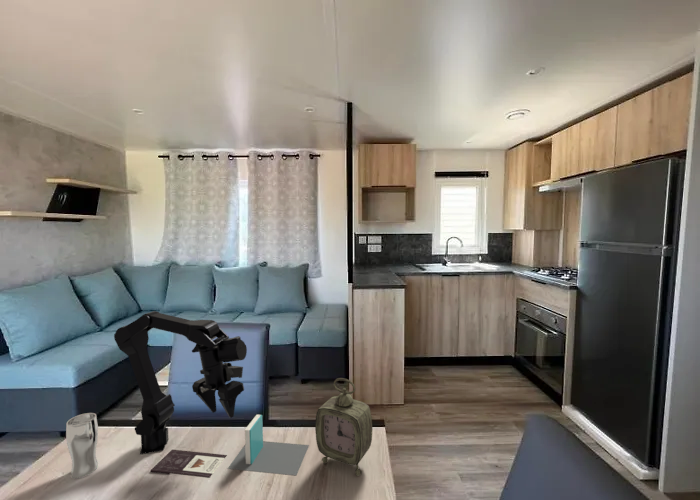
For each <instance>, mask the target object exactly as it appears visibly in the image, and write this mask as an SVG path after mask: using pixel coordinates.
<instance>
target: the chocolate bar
mask: <svg viewBox="0 0 700 500" xmlns="http://www.w3.org/2000/svg"><path fill="white" fill-rule="evenodd" d="M227 456H228V455H227V454H220V453H219V454H218V453H209V452H203V451H190V450H183V449H182V450H181V449H180V450H179V449H171V450H170V451H169V452H168V453H167V454H166V455H164V457H162V459H161V460H159V461H158V462H157V464H155V465H154V466H153V467H152V468H151V469H150V473H155V474H162V475H163V474H164V475H170V474H175V475H185V476H193V477H202V478H211V476H212V475H213V474H214V472H216V470H217V469H218V467H219V466H220V465H221V464H222V463H223V461H224V460H225V459H226V457H227Z"/></svg>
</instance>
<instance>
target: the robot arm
mask: <svg viewBox="0 0 700 500" xmlns="http://www.w3.org/2000/svg"><path fill="white" fill-rule="evenodd" d="M152 329H156V330H161V331H165V332H169V333H173V334H178V335H181V336H184V337H185V338H186V339H187V340H188V341H190V342H191V343H194V344H195V346H194V347H193V348H192V350H191V352H192V353H193V354H194V353H199V357H200V363H201V367H202V369H200V370H199V372H200V374H201V375H203V377H202V378H200V379H197V380H196V381H194V382H193V383H192V387H191V388H192V392H193V393H195V395H196V396H198V398H199V399H200V400H201V401H202V402H203V403H204V404H205V405H206V407H207V408H208V409H209V410H210V412H211V413H213V414H214V413H216V412H217V402H216V400H217V399H216V392H217V396H218V397H219V399H218V401H219V402H220V405H221V406H222V407H223V409H224V411H225V413H226V414H227V416H228V417H229V419H230V418H231V419H232V418H233V417H234V416H235V408H236V401H237V398H238V396H239V395H241V394H242V393H243V392H244V391H245V386H244V383H243V382H242V381H240V380H232V379H235V378H239V379H241V378H243V369H244V367H243V366H239V365H232V363H231V362H238V361H244V360H245V358H247V357H246V356H247V351H248V348H247V345H246V344H245V341H244V340H242V339H241V336H235V337H229V335H228V334H227V333H226V332H225V331H224V330H223V329H222V328H221V327H219V324H218V322H217V321H215V320H212V319H197V320H193V319H192V320H191V319H187V318H183V317H178V316H174V315H169V314H166V313H162V312H159V311H157V310H153V311H150V312H147V313H143V314H142V315H141V316H140V317H138V318H137V319H136V320H134V321H131V322H130V323H129V324H126V325H123V326H121V327H120V326H119V328H117V329H116V331H115V333H114V335H113V337H114V341H115V343H116V345H117V347H118V349H119V350H120V351H121V352H122V353H124V354H126V355H127V357H128V359H129V362H130V365H131V368H132V370H133V374H134V377H135V379H136V383H137V386H138V389H139V391H140V394H141V397H142V400H143V401H142V406H141V409H140V413H141V420H140V422H139V423H138V424H137V425H136V426H135V427H134V431H135V433H136V435H137V436H140V440H141V441H140V443H141V449H140V451H139V455H146V454H150V453H157V452H161V451H164V450H165V447H166V446H167V444H168V442H169V428H168V427H167V422H169V421H170V419H171V417H172V416H173V414H174V412H175V406H176V404H175V403H174V401H173V397H172V395H171V394H170V393H169V394H167V395H166V394H165V393H164V392H162V390H161V387H160V385H159V381H158V379H157V378H158V377H157V376H156V373H155V370H154V366H153V364H152V361H151V358H150V355H149V353H148V349H147V347H148V342H149V340H150V339H149V338H150V337H149V333H148V332H149V331H151V330H152Z"/></svg>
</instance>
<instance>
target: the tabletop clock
mask: <svg viewBox="0 0 700 500" xmlns="http://www.w3.org/2000/svg"><path fill="white" fill-rule="evenodd" d="M339 381H340V382H342V381H343V382H346V383H349V384H350V385H351V386H352V388H353V390H351V391H347V388H346V387H343V388H342V389H340V388H338V387H337V386H336V383H337V382H339ZM333 387H334V389H335V390H336V391H337V392H339V394H338V395H337V396H336V395H335V396H332V397H330V398H328V400H327V401H326V402H324V403H323V404H322V405H321V406H320V407H318V409H317V411H316V415H315V428H314V429H315V440H316V446H317V449H318V451H319V453H321V454H322V455H324V456H323V457H322V459H321V461H322V463H323V464H327V463H328V461H329V460H328V458H329V459H332V460H334V461H336V462H339V463H342V464H346V465H350V466H355V468H356V469H355V472H354V473H355V475H356V476H357V477H359V476H361V475H362V470H361V469H360V468H359V463H360V462H361V461H362V459H363V458H364V457H365V455H366V454H367V452H368V451H369V449H370V448H371V445H372V441H373V420H372V418H373V417H372V414H371V413H372V411H371V408H370V405H368V404H367V403H366V402H363V401H360V400H357V399H354V398H353V397H352V395H351V394H353V393H355V392H356V385H355V384H354V382H352V381H351V380H350V379H347V378H343V377H338V378H336V379H335V380H334V381H333Z"/></svg>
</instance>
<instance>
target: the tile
mask: <svg viewBox="0 0 700 500" xmlns="http://www.w3.org/2000/svg"><path fill="white" fill-rule="evenodd" d="M263 427H264V426H263V414H256V415H255V416H254V417H253V419H252V420H251V421H250V422H249V424H248V425H247V426H246V428H245V429H244V445H245V452H246V464H252V463H253V462H254V460H255V458H256V457H257V455H258V454H259V452H260V451H261V449H262V447H263V441H264V433H263V431H264V430H263Z"/></svg>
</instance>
